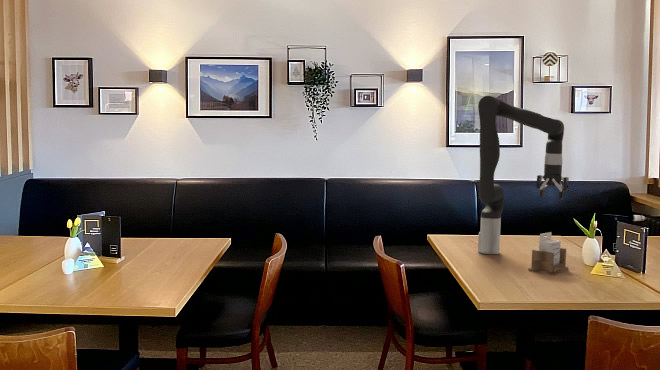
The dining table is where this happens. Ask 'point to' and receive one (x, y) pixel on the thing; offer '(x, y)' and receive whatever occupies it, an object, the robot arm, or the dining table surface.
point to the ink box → (550, 246)
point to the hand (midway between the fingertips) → (551, 198)
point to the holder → (548, 262)
